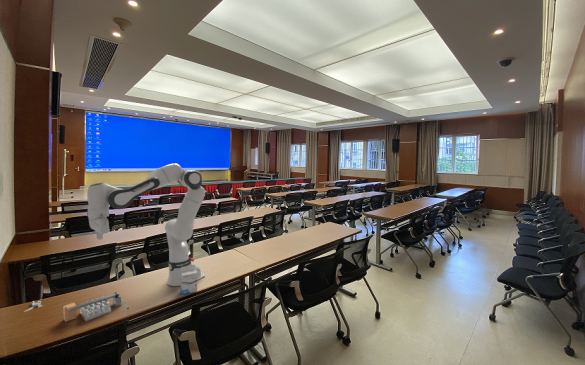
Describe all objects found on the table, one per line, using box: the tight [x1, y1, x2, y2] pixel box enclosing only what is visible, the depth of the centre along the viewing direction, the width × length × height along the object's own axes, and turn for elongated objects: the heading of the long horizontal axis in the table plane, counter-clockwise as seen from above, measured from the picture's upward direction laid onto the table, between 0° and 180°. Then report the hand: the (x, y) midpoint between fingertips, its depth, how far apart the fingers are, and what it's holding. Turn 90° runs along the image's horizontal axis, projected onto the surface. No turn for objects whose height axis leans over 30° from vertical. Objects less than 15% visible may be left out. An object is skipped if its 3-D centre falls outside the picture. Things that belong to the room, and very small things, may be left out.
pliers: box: [23, 300, 43, 313], centre depth 127 cm, size 10×2×15 cm
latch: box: [62, 302, 78, 323], centre depth 117 cm, size 4×6×7 cm, turn 52°
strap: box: [70, 291, 120, 311], centre depth 123 cm, size 19×4×1 cm, turn 142°
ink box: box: [180, 264, 198, 295], centre depth 146 cm, size 8×5×15 cm, turn 123°
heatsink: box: [79, 294, 122, 322], centre depth 125 cm, size 15×10×5 cm, turn 142°
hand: (99, 238), depth 134 cm, fingers closed
